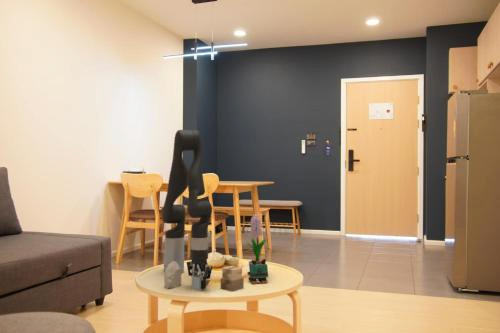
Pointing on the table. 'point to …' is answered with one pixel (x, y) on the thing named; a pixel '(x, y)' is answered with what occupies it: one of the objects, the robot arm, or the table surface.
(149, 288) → the table surface
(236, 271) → the beech block
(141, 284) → the table surface
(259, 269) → the green toy vehicle
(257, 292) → the table surface
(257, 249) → the hyacinth
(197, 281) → the slate block
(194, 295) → the table surface
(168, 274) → the stone
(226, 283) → the walnut base
